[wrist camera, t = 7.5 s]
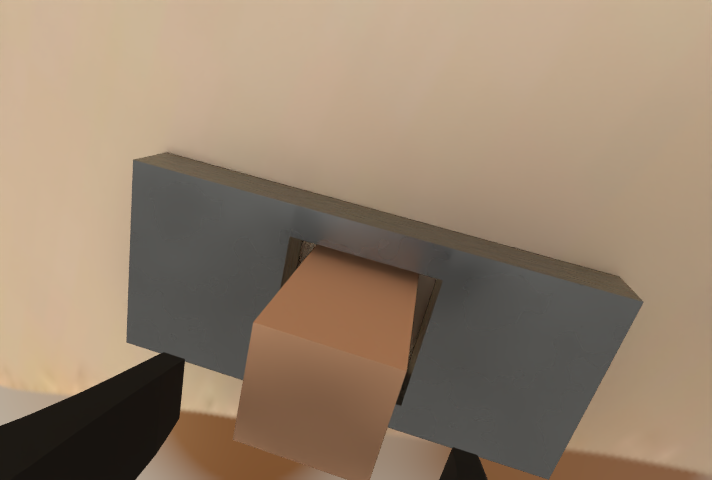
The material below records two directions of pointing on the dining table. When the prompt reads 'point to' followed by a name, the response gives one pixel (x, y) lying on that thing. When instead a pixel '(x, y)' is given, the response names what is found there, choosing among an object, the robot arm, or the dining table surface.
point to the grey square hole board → (392, 247)
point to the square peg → (328, 363)
